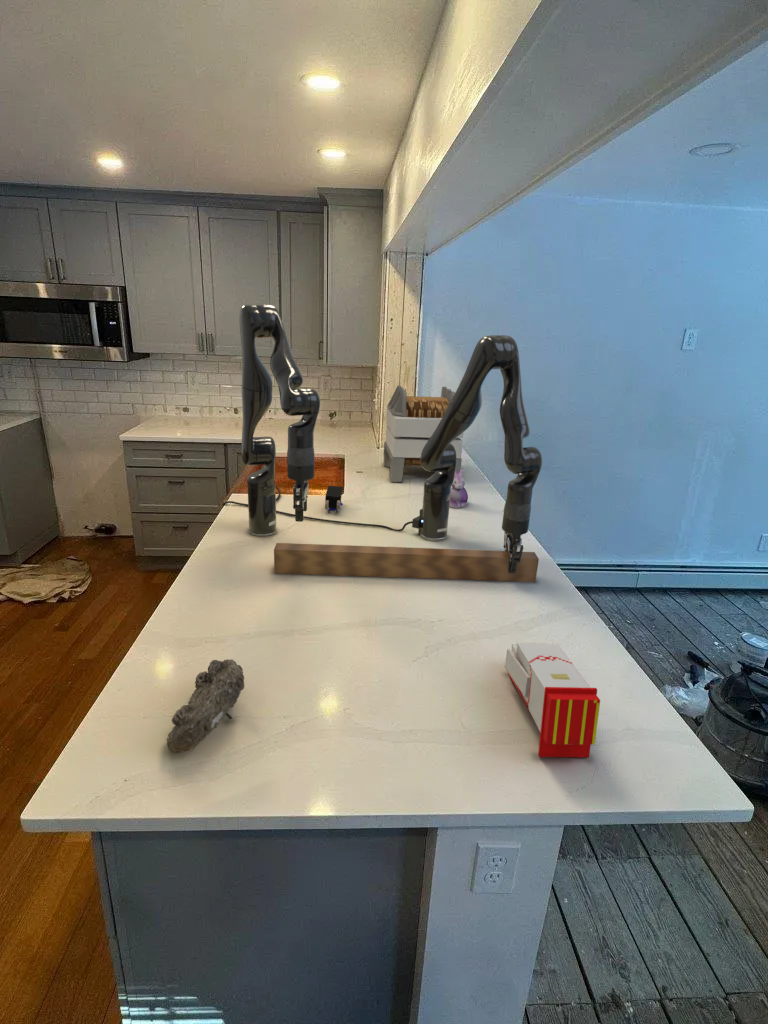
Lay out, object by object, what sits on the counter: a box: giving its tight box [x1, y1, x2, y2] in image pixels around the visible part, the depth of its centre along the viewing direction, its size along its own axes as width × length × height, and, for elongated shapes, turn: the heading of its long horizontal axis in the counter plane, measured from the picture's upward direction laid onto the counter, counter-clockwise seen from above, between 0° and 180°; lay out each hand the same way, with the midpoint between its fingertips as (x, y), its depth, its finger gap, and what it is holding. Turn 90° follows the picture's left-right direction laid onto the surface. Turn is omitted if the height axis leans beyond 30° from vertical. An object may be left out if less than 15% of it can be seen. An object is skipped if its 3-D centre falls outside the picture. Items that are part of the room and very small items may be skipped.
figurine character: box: [324, 485, 344, 514], centre depth 220 cm, size 7×8×15 cm
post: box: [273, 542, 540, 583], centre depth 169 cm, size 77×5×8 cm, turn 91°
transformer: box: [383, 384, 464, 483], centre depth 268 cm, size 34×33×41 cm
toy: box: [504, 642, 601, 758], centre depth 113 cm, size 12×13×30 cm
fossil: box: [166, 658, 245, 754], centre depth 106 cm, size 22×10×15 cm
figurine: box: [449, 468, 469, 509], centre depth 230 cm, size 9×10×15 cm
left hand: (301, 515), depth 163 cm, fingers open, 8 cm apart
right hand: (509, 568), depth 170 cm, fingers closed on post, 5 cm apart
